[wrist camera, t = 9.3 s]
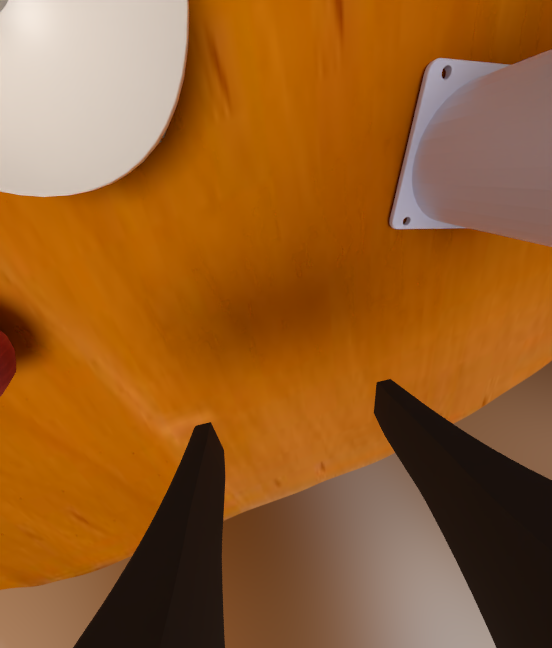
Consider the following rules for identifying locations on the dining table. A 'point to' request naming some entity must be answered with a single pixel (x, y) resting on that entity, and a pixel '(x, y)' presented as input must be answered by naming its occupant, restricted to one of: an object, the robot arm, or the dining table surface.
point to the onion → (6, 362)
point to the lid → (85, 89)
